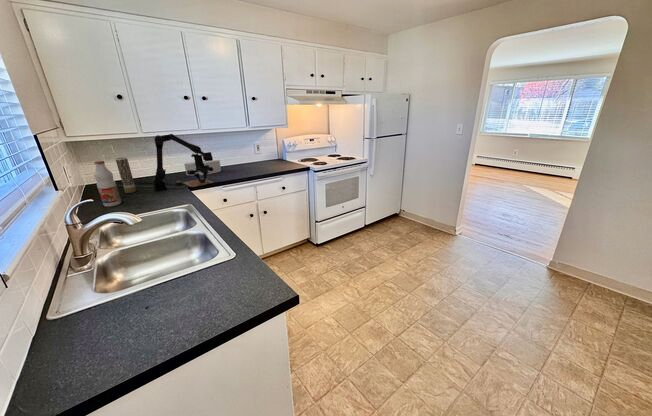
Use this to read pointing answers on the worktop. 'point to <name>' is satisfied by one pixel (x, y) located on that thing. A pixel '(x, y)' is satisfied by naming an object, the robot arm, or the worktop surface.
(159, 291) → the worktop surface
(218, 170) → the block
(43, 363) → the worktop surface
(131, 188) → the paper tube
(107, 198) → the fruit juice
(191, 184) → the face board
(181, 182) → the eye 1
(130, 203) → the worktop surface
